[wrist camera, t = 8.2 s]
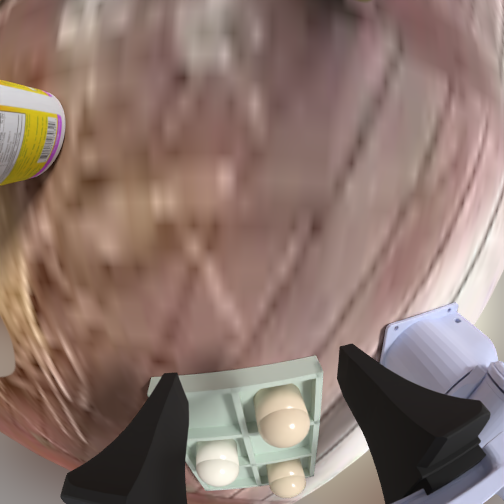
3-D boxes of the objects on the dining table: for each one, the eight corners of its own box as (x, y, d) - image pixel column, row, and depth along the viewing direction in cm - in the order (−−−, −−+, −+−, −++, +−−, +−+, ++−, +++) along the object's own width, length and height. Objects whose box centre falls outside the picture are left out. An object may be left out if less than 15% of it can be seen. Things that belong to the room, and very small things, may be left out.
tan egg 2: (300, 452, 28) (310, 487, 22) (300, 466, 29) (308, 498, 24) (264, 458, 27) (270, 494, 22) (267, 472, 29) (273, 505, 24)
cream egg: (233, 432, 25) (237, 475, 20) (239, 452, 26) (243, 490, 21) (191, 436, 24) (190, 478, 19) (201, 455, 26) (202, 493, 21)
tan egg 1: (300, 377, 23) (317, 423, 18) (300, 407, 24) (314, 450, 19) (250, 386, 23) (258, 435, 18) (256, 415, 24) (263, 460, 19)
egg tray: (315, 355, 23) (323, 371, 21) (310, 464, 30) (313, 475, 28) (151, 377, 22) (147, 394, 20) (205, 478, 29) (205, 490, 27)
